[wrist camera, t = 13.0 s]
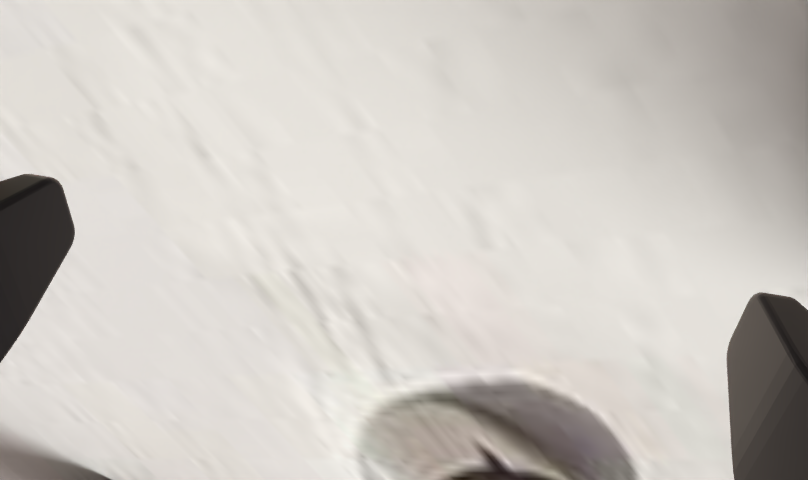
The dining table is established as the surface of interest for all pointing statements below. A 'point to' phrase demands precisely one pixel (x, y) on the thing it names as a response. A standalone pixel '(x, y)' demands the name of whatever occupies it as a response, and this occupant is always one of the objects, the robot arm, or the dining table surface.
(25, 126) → the dining table surface
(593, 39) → the dining table surface
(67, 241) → the robot arm
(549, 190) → the dining table surface
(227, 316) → the dining table surface
